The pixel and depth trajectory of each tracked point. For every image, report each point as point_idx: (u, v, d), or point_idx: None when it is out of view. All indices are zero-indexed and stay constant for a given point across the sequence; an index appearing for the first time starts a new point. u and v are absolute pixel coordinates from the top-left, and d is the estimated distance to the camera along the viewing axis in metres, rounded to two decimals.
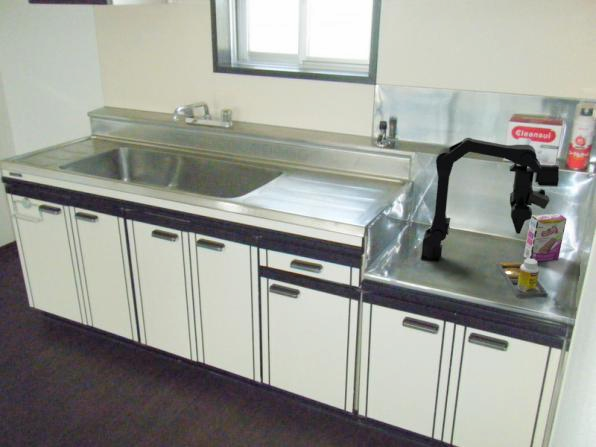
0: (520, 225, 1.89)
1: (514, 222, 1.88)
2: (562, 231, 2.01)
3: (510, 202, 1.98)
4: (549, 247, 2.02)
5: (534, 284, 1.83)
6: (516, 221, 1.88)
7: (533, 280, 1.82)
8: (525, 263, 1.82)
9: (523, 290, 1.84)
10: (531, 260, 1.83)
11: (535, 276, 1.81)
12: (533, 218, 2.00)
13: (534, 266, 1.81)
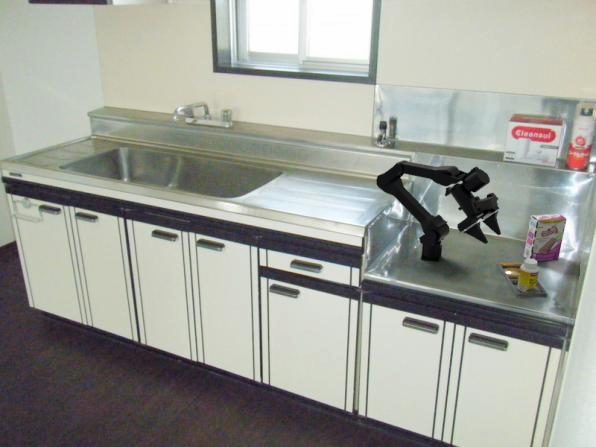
0: (479, 235, 1.86)
1: (473, 235, 1.87)
2: (562, 231, 2.01)
3: (483, 220, 1.96)
4: (549, 247, 2.02)
5: (534, 284, 1.83)
6: (473, 233, 1.87)
7: (533, 280, 1.82)
8: (525, 263, 1.82)
9: (523, 290, 1.84)
10: (531, 260, 1.83)
11: (535, 276, 1.81)
12: (533, 218, 2.00)
13: (534, 266, 1.81)
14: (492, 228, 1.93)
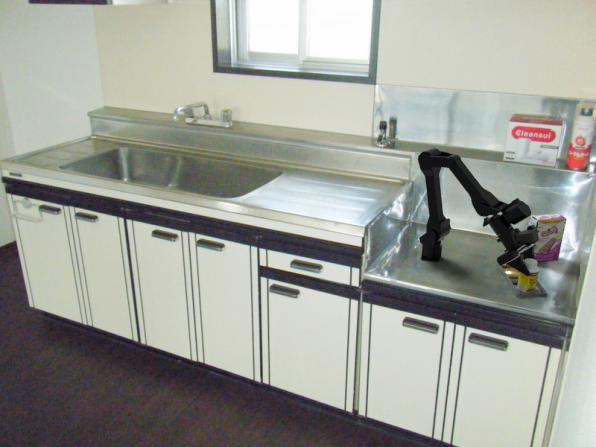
0: (522, 267, 1.80)
1: (515, 267, 1.82)
2: (562, 231, 2.01)
3: (519, 253, 1.89)
4: (549, 247, 2.02)
5: (534, 284, 1.83)
6: (516, 265, 1.81)
7: (533, 280, 1.82)
8: (525, 263, 1.82)
9: (523, 290, 1.84)
10: (531, 260, 1.83)
11: (535, 276, 1.81)
12: (533, 218, 2.00)
13: (534, 266, 1.81)
14: None
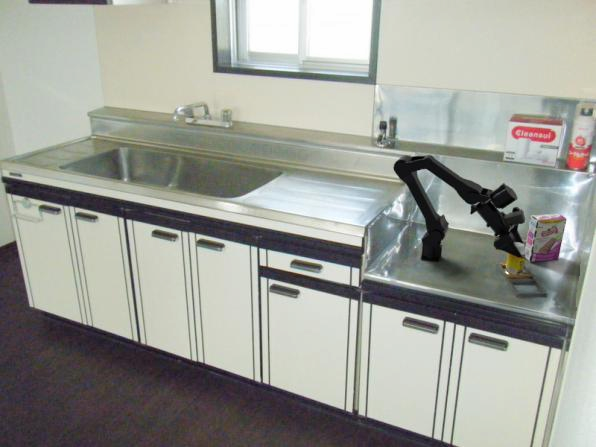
0: (514, 250, 1.89)
1: (507, 251, 1.89)
2: (562, 231, 2.01)
3: None
4: (549, 247, 2.02)
5: (523, 265, 1.94)
6: (508, 249, 1.89)
7: (522, 262, 1.93)
8: None
9: (514, 272, 1.94)
10: (518, 243, 1.94)
11: (524, 258, 1.93)
12: (533, 218, 2.00)
13: (522, 249, 1.92)
14: (515, 240, 1.98)
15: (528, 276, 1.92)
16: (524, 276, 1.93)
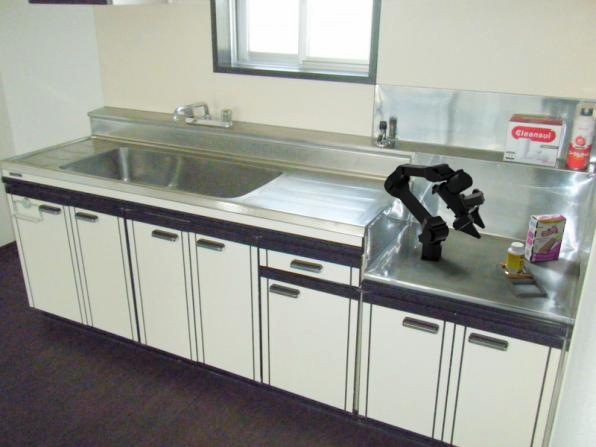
0: (473, 231, 1.89)
1: (466, 232, 1.90)
2: (562, 231, 2.01)
3: None
4: (549, 247, 2.02)
5: (523, 265, 1.94)
6: (467, 230, 1.90)
7: (522, 262, 1.93)
8: (514, 247, 1.92)
9: (514, 273, 1.94)
10: (517, 243, 1.94)
11: (523, 258, 1.93)
12: (533, 218, 2.00)
13: (522, 248, 1.92)
14: (476, 222, 1.99)
15: (528, 276, 1.92)
16: (524, 276, 1.93)
